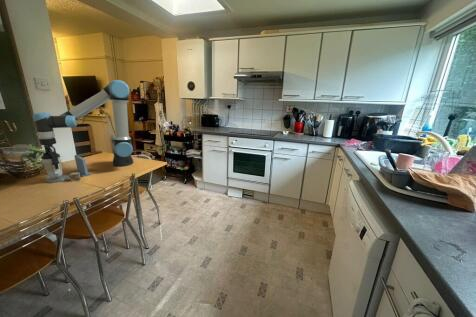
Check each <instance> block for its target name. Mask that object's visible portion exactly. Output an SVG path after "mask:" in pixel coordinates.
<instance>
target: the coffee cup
mask: <svg viewBox="0 0 476 317" xmlns="http://www.w3.org/2000/svg"><path fill="white" fill-rule="evenodd" d="M56 154H57V157H58V160H59V168H60V172H61V173H59V174H55V172H54V168H53V165H52V164H53V162H52V159H51V156H50V155H49V154H47V153H46V152H45V153H43V154H42V156H41V158H40V159H41V160H42V164H43V165H44V166H43V167H44V168H45V171H46V173H47V175H48V178H49V177H58V176H61V175H63V166H62V165H63V164H62V159H61V155H60V154H59V153H58V152H56Z"/></svg>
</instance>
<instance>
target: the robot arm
mask: <svg viewBox="0 0 476 317" xmlns="http://www.w3.org/2000/svg"><path fill="white" fill-rule="evenodd" d="M110 101H111V102H112V107H113V121H114V134H115V136H112V137H111V138H110V139H111V145H112V153H113V158H112V166H114V167H127V166H130V165H132V164H134V159H133V157H132V153H133V150H134V148H133V147H134V146H133V144H132V137H130V135H129V134H130V132H129V117H128V115H129V114H128V103H129V102H130V87H129V85H128V84H127V83H126V82H125V81H123V80H121V79H114V80H112V81H110V82H109V83H108V84H107V85H106V86H105V87H103V88H101V91H99V92H98V93H96V94H94V95H93V96H91V97H89V98H87V99H85V100H84V101H82V102H81V103H79V104H77V105H75V106H74V107H72V108H70V109H68V110H67V111H65V112H63V113H61V114H60V115H51V114H50V113H49V112H34V113H33V114H32V117H33V122H34V125H35V130H36V132H37V133H35V135H36V136H37V137H38V139H39V140H38V141H39V145H41V146H43V148H44V151H45V153H47V154H49V155H50V156H51V159H52V162H53V164H52V165H53V168H54V172H55V174H59V173H61V172H60V168H59V160H58V157H57V154H56V153H57V150H56V148H55V146H53V145H56V144H57V139H56V135H55V130H54V129H58V128H59V129H62V128H63V129H66V128H68V129H70V128H76V127H77V126H78V125H77V121H78V120H80V119H82V118H83V117H85V116H86V115H88V114H89V113H91V112H93V111H94V110H96V109H98V108H100V107H101V106H102V105H103V106H104V105H105V104H106V103H107V102H110Z"/></svg>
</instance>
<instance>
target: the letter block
mask: <svg viewBox="0 0 476 317" xmlns="http://www.w3.org/2000/svg"><path fill="white" fill-rule="evenodd" d="M81 177H82V176H81V175H80V172H75V171H74V172H70V174H69V179H70V182H78V181H81V179H82V178H81Z"/></svg>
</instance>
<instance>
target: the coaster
mask: <svg viewBox="0 0 476 317" xmlns="http://www.w3.org/2000/svg"><path fill="white" fill-rule="evenodd" d="M68 179H70V174H62V175H61V176H58V177H49V176H48V177H47V178H45V183H48V184H49V183H50V184H52V183H54V184H55V183H61V182H64V181H66V180H68Z"/></svg>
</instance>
